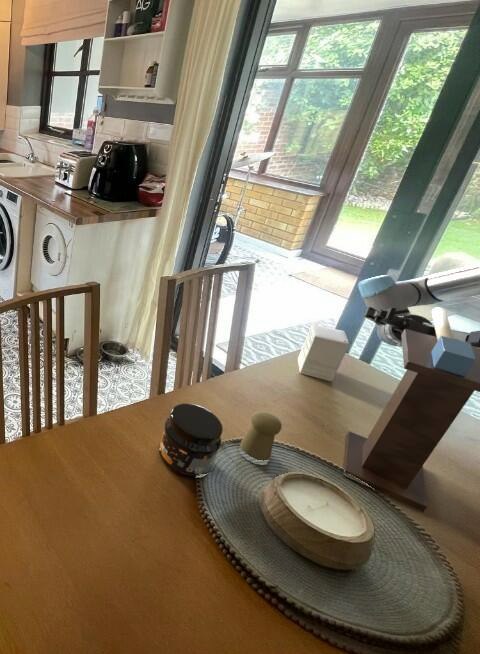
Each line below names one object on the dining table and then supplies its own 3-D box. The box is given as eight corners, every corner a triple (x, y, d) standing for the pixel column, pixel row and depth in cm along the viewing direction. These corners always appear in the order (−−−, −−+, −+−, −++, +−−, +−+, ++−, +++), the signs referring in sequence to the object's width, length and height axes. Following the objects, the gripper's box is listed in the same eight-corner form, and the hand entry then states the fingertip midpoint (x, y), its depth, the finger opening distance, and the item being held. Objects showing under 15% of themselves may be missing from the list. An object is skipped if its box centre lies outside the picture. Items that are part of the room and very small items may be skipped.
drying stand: (418, 465, 88) (495, 352, 75) (423, 512, 78) (512, 393, 65) (345, 435, 95) (404, 328, 82) (342, 475, 86) (408, 361, 73)
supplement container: (153, 437, 95) (163, 398, 90) (202, 444, 93) (216, 404, 88) (163, 476, 86) (175, 435, 80) (217, 485, 84) (234, 444, 78)
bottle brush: (448, 317, 85) (457, 302, 84) (464, 376, 69) (475, 359, 67) (424, 311, 88) (432, 296, 86) (433, 367, 71) (444, 350, 69)
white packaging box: (328, 367, 117) (345, 330, 111) (332, 382, 111) (350, 344, 106) (296, 359, 120) (311, 323, 115) (298, 373, 115) (314, 335, 109)
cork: (240, 460, 89) (255, 423, 84) (234, 439, 94) (248, 403, 89) (273, 468, 87) (290, 431, 82) (265, 447, 92) (281, 410, 87)
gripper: (476, 364, 97) (519, 366, 80) (340, 326, 112) (352, 320, 95) (488, 335, 96) (534, 330, 79) (350, 300, 111) (364, 290, 95)
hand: (435, 324), depth 87 cm, fingers open, 13 cm apart
